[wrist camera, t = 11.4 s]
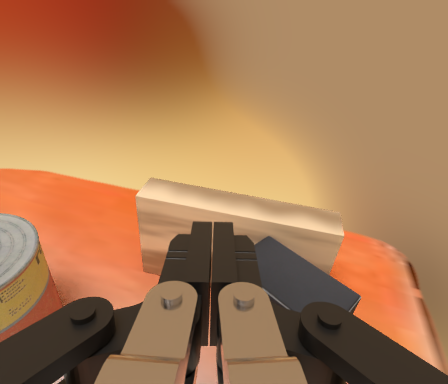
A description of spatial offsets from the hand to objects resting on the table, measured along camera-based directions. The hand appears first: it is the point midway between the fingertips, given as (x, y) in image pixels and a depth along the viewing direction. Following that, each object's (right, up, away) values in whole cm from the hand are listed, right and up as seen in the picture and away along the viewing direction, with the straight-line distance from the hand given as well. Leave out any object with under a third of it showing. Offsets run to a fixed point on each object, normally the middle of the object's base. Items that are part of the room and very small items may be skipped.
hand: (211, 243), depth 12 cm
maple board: (+1, -9, +28) cm, 30 cm away
